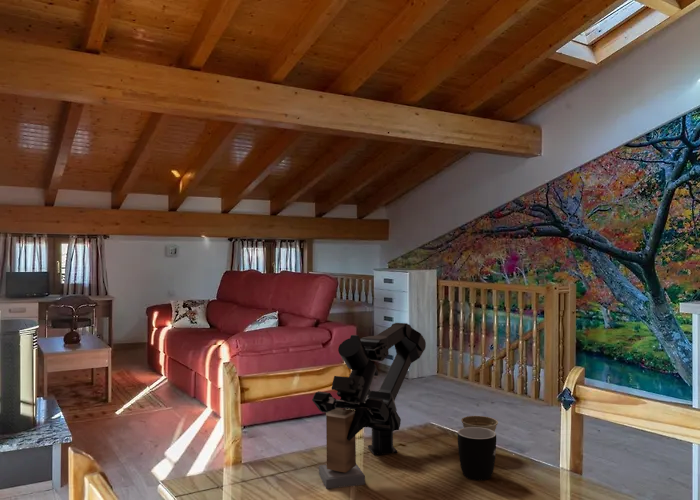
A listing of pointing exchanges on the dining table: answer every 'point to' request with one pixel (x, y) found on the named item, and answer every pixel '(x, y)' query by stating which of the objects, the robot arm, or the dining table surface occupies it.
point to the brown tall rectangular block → (340, 440)
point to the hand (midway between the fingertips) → (338, 438)
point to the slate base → (341, 477)
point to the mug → (477, 452)
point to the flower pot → (479, 422)
